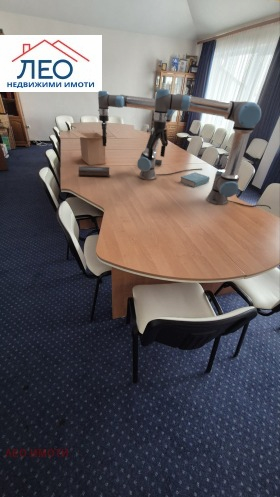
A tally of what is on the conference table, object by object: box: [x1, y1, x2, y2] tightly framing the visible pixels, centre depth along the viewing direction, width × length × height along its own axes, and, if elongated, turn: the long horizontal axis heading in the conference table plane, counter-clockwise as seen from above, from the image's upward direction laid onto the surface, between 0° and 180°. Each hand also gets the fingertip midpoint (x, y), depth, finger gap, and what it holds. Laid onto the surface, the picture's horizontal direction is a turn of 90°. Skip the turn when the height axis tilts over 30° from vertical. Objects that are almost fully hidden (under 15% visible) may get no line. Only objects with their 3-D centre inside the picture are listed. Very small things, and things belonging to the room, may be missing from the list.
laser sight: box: [155, 158, 163, 166], centre depth 237 cm, size 10×22×10 cm, turn 78°
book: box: [179, 171, 210, 188], centre depth 200 cm, size 23×16×5 cm
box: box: [70, 129, 114, 166], centre depth 229 cm, size 44×36×27 cm
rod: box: [77, 165, 110, 177], centre depth 198 cm, size 27×8×8 cm, turn 96°
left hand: (104, 144), depth 185 cm, fingers open, 13 cm apart
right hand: (156, 158), depth 144 cm, fingers open, 13 cm apart
